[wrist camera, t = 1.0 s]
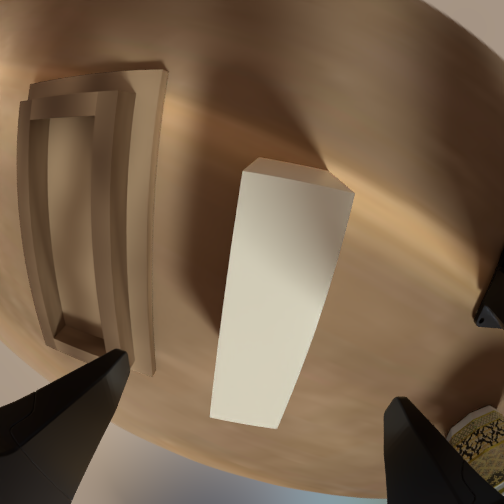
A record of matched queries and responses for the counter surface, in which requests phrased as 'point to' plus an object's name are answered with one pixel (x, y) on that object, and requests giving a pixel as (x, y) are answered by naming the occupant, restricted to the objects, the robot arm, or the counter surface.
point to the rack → (91, 210)
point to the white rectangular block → (275, 285)
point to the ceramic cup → (482, 444)
